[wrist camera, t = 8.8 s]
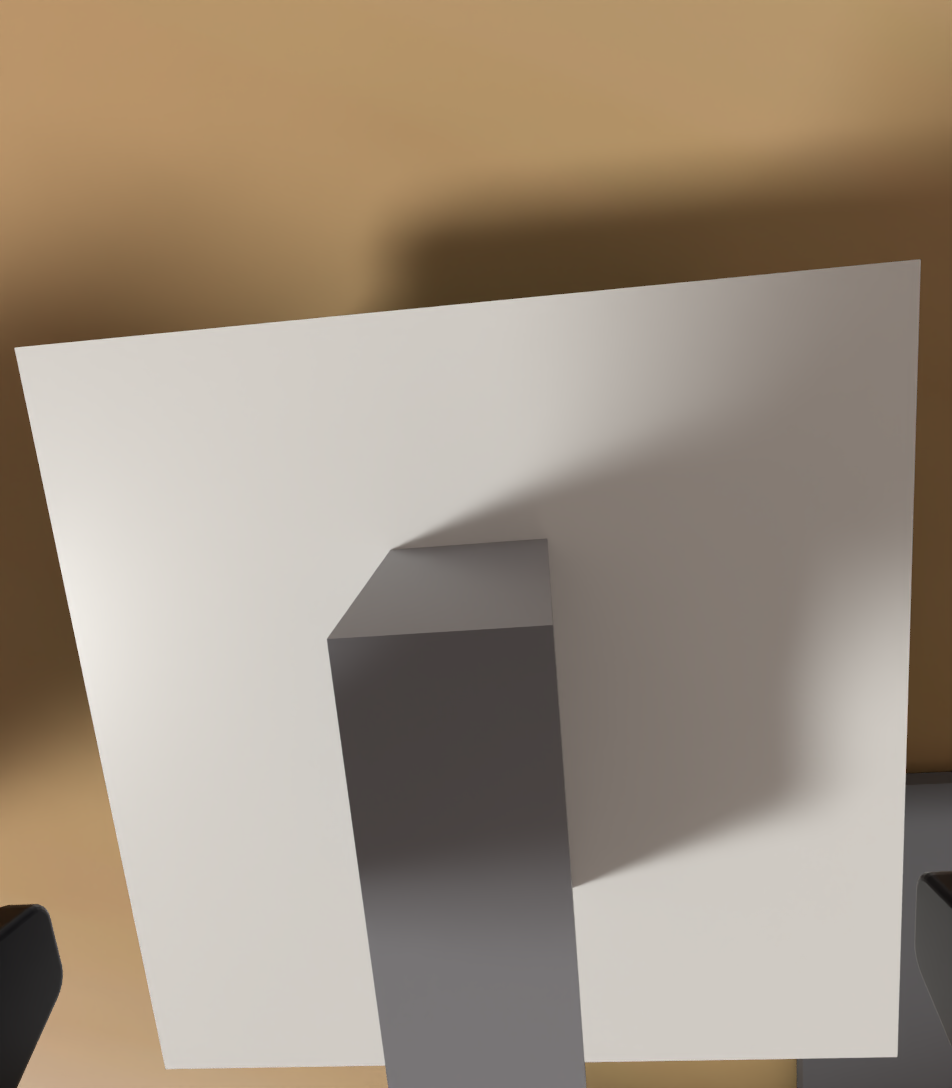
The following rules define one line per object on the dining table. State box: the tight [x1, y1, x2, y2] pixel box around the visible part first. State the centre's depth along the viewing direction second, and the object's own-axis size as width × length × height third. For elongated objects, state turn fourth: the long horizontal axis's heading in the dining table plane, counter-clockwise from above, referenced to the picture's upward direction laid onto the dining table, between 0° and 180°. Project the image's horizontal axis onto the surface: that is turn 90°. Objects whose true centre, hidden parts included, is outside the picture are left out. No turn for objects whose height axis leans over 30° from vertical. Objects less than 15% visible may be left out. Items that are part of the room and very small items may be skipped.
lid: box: [15, 259, 921, 1088], centre depth 12 cm, size 13×13×5 cm
